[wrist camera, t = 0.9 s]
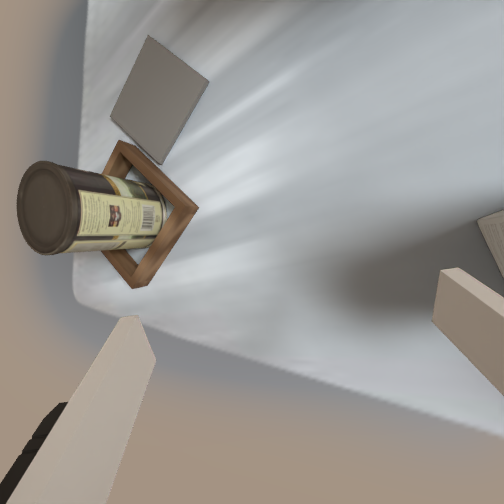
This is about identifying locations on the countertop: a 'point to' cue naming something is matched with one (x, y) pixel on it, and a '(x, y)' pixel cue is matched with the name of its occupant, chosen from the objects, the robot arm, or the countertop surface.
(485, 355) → the robot arm
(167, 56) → the mat
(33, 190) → the coffee can
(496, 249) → the supplement box
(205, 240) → the countertop surface
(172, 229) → the brown wooden square frame
